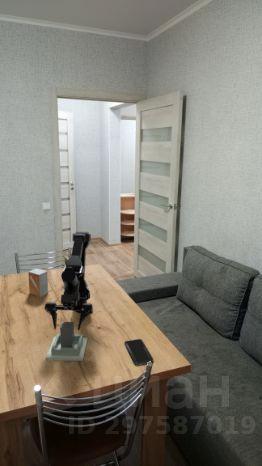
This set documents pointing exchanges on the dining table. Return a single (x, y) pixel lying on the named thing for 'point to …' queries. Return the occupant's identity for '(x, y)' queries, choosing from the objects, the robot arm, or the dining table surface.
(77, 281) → the robot arm
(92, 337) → the dining table surface
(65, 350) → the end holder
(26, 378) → the dining table surface
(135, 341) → the phone
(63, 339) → the connector plug
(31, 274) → the small box
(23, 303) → the dining table surface
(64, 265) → the house plant
